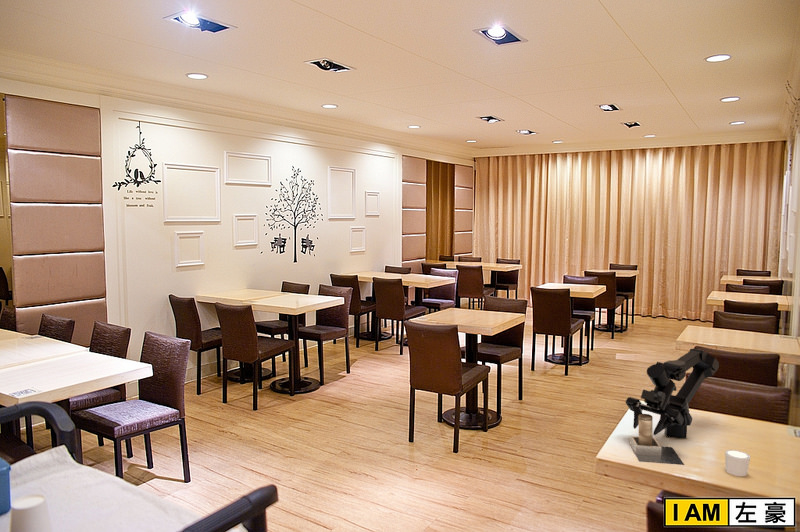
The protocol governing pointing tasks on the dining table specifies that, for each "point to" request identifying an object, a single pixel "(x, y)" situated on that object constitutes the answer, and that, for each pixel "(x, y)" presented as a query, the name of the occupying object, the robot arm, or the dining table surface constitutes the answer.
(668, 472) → the dining table surface
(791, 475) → the dining table surface
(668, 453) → the dock plate
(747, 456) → the white cylinder
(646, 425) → the beige wooden block
